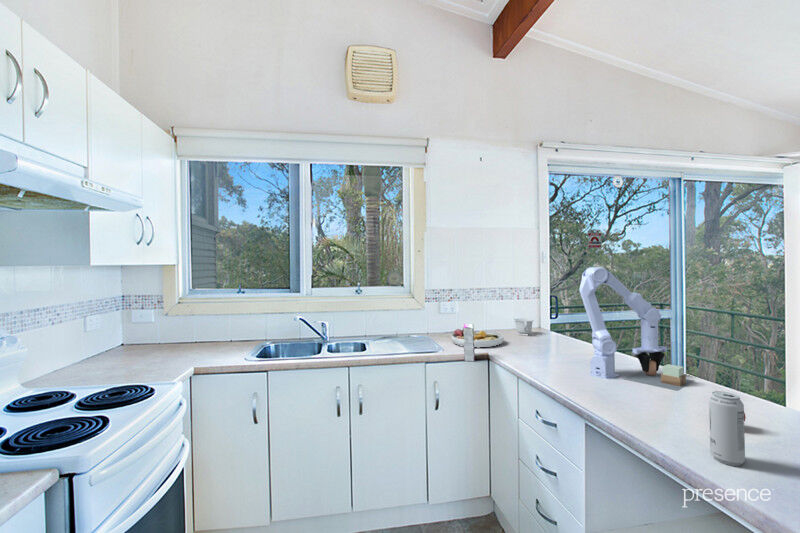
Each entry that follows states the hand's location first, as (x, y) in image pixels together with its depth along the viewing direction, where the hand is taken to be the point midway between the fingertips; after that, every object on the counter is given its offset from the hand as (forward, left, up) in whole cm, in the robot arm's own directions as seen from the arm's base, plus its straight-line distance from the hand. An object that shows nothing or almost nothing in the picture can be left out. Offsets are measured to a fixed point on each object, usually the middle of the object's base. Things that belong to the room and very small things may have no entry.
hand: (650, 370), depth 148 cm
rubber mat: (-4, -4, -2) cm, 6 cm away
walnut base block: (-4, -9, -2) cm, 10 cm away
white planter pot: (+38, +85, -3) cm, 93 cm away
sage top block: (-4, -9, +1) cm, 10 cm away
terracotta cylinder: (0, 0, -1) cm, 1 cm away
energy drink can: (-57, -36, -3) cm, 67 cm away
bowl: (-2, +89, -3) cm, 89 cm away
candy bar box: (-32, +67, -3) cm, 74 cm away
